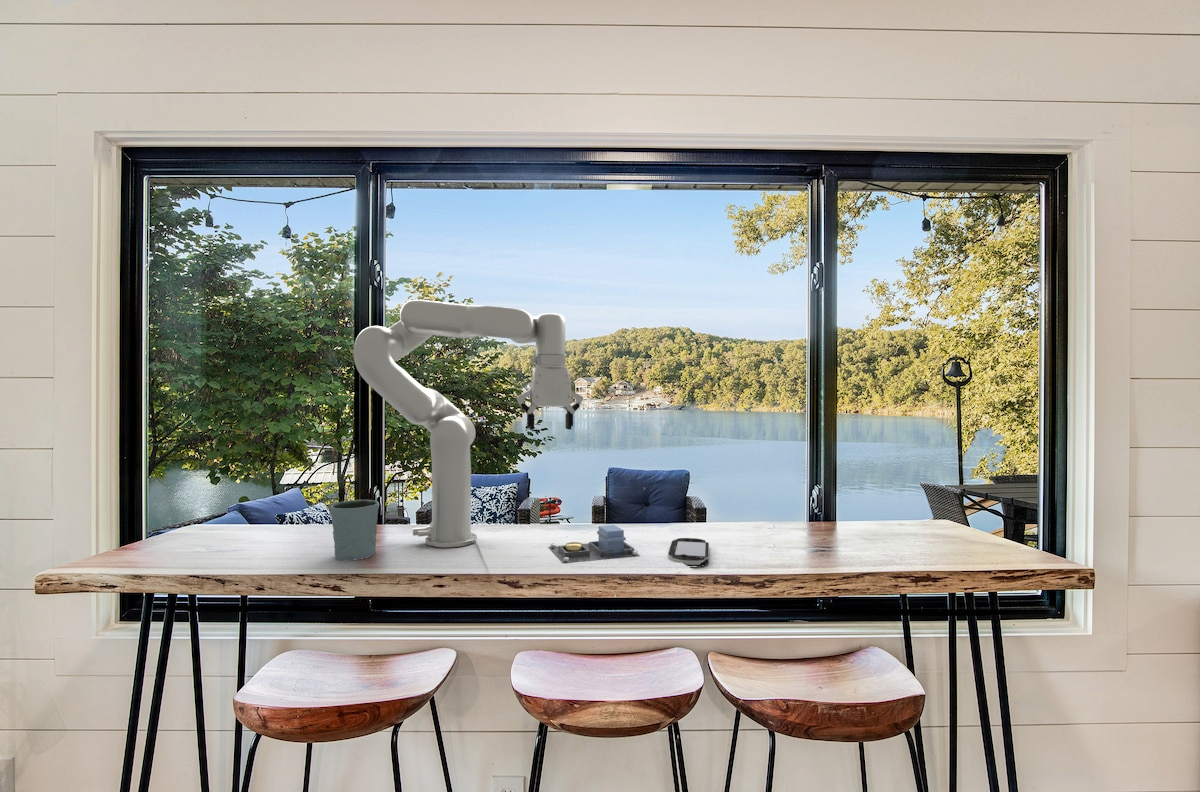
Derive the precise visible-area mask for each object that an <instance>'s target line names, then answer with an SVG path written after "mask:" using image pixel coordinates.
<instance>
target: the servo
mask: <svg viewBox="0 0 1200 792" xmlns="http://www.w3.org/2000/svg"><path fill="white" fill-rule="evenodd" d="M624 533H625V531H624V529H623V528H621V527H619V526H617V525H615V524H608V525H607V524H606V525H598V530H597V531H596V534H597V535H598V541H599V548H600V549H602V550H603V551H608V550H612V551H613V553H621V552H622V549H624V542H625V541H627V540H626V536H625V534H624Z"/></svg>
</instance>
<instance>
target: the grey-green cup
mask: <svg viewBox="0 0 1200 792" xmlns="http://www.w3.org/2000/svg"><path fill="white" fill-rule="evenodd" d="M379 504H380V503H379V501H377V500H373V499H351V500H343V501H340V502H339V501H338V502H336V503H333V504H331V505H330V506H329V507H330V508H329V509H330V513H331V515H330V516H331V525H332V529H333V530H332V535H333V536H332V537H333V541H334V544H333V545H334V547H333V548H334V558H335V559H336V558H337V559H340V560H339V561H342V560H354V559H361V558H366V557H369V556H372V555H374V556H375V554H376V547H377V546H376V543H377V524H378V516H379V515H378V514H379ZM372 557H373V556H372ZM369 558H370V557H369ZM337 559H336V560H337ZM366 559H367V558H366ZM354 561H355V560H354Z"/></svg>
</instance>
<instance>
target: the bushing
mask: <svg viewBox="0 0 1200 792" xmlns="http://www.w3.org/2000/svg"><path fill="white" fill-rule="evenodd" d="M582 544H583V543H581V542H579V541H572V542H571V541H570V542H566V544H565V545H566V551H567V552H572V551H582Z"/></svg>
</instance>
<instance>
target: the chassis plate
mask: <svg viewBox="0 0 1200 792" xmlns="http://www.w3.org/2000/svg"><path fill="white" fill-rule="evenodd" d="M547 548H548V549H549V550H550V551H551V552H552V553H553V555H554V556H556V558H557V559H558V560H559V561H560V563H562V564H569V563H570V564H571V563H572V564H573V563H582V562H583V563H585V562H592V561H602V560H603V561H604V560H613V559H614V560H615V559H624V558H633V557H634V558H635V557H641V555H640V554H638V550H635V547H633V546H631V545H630V544H629V543H627V542H625V541H624V549H622V552H621V553H613V551H612V550H608V551H603V550H602V549H600V548H599V540H597V541H595V540H594V541H589V542H588V543H582V551H572V552H567V551H566V544H565V545H556V543H554V542H553V543H550V544H549V546H547Z"/></svg>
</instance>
